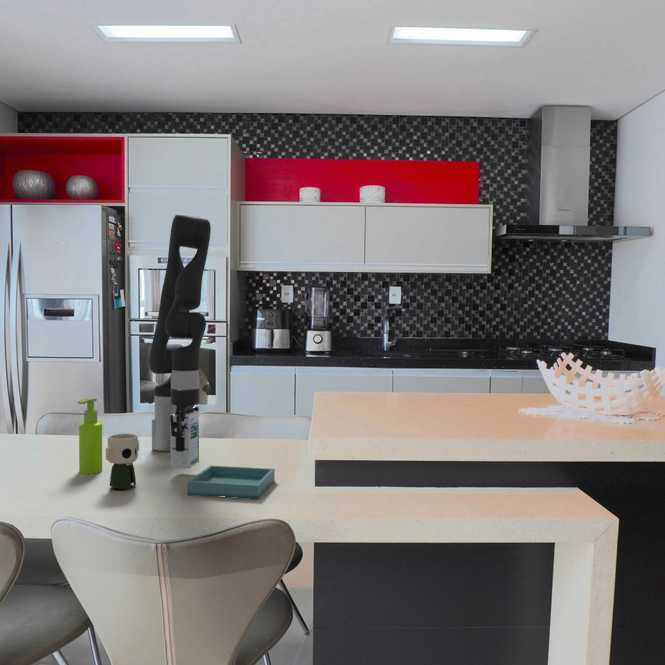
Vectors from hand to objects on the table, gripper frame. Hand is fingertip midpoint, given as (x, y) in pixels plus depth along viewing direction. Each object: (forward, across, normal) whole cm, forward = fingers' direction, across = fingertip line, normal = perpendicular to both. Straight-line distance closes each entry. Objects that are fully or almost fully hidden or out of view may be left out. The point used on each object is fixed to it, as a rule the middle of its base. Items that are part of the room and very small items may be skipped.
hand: (184, 448), depth 169 cm
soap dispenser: (+8, +2, -26) cm, 28 cm away
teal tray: (+7, +9, +17) cm, 20 cm away
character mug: (+7, +14, -10) cm, 19 cm away
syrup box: (+5, 0, 0) cm, 5 cm away
